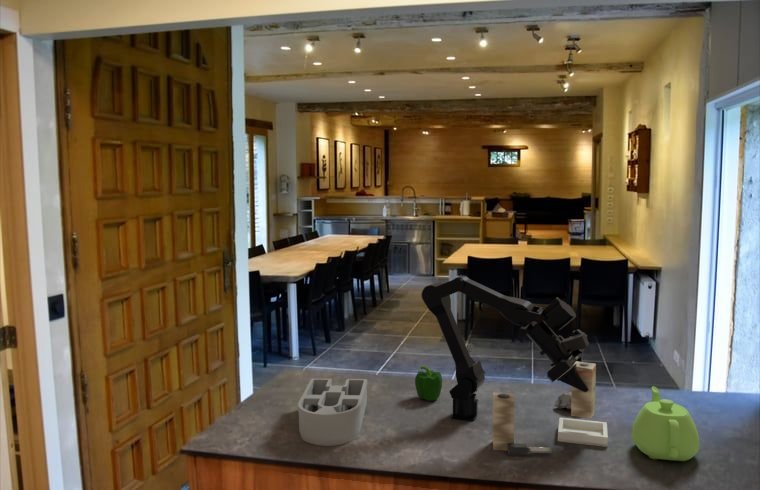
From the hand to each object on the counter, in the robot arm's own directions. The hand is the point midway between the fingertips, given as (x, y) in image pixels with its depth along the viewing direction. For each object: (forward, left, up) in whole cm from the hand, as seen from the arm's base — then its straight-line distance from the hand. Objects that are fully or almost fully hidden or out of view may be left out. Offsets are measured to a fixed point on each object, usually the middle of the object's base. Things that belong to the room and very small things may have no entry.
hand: (589, 388), depth 162 cm
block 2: (-1, 0, -7) cm, 7 cm away
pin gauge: (-14, -14, -13) cm, 24 cm away
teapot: (+18, -2, -14) cm, 22 cm away
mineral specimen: (-4, +20, -14) cm, 25 cm away
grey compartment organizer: (-67, -11, -14) cm, 69 cm away
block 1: (-20, -11, -13) cm, 27 cm away
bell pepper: (-46, +17, -14) cm, 51 cm away
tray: (-1, +1, -13) cm, 13 cm away
